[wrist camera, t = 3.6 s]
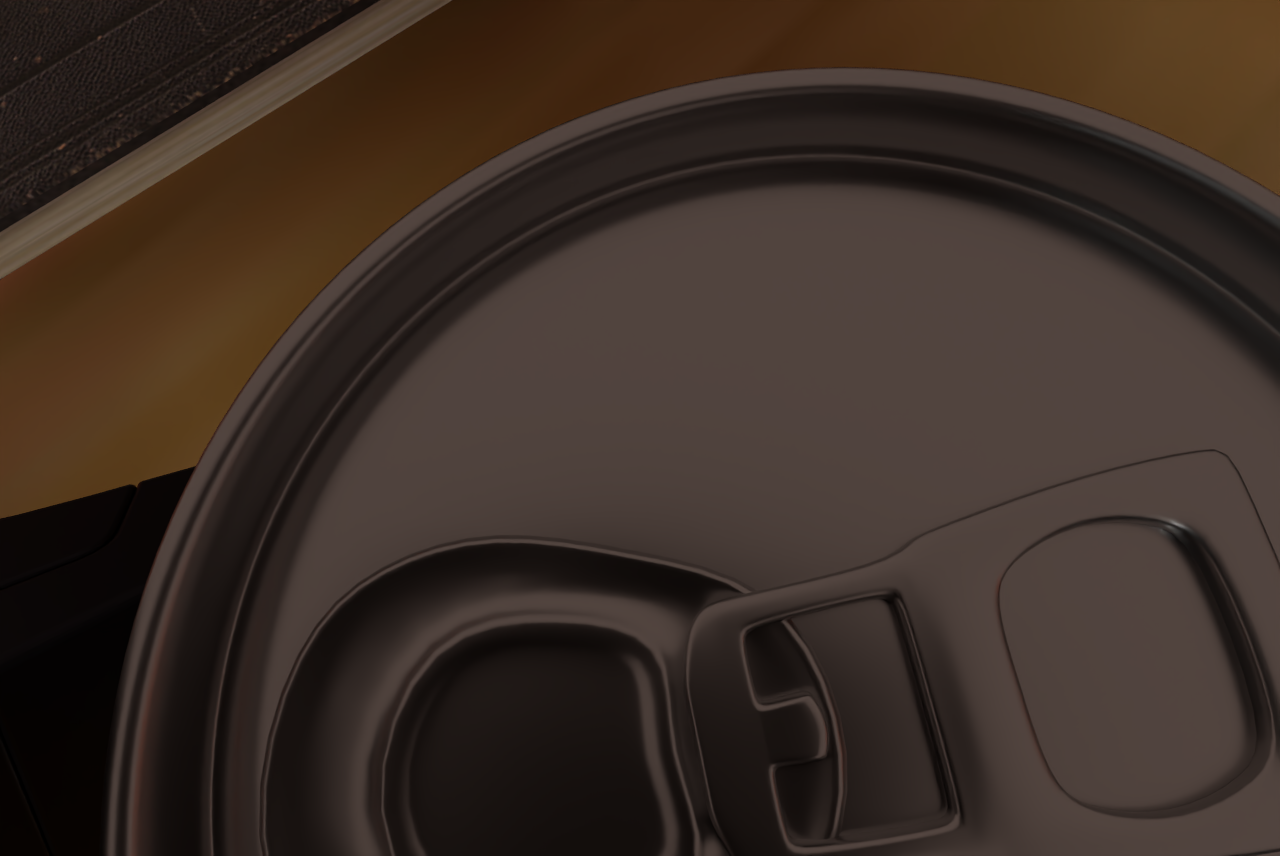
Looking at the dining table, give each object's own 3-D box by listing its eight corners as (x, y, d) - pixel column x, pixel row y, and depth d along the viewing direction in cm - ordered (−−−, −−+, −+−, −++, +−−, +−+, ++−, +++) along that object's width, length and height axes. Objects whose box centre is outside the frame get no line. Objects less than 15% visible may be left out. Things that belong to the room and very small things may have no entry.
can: (520, 510, 15) (-14, 144, 4) (846, 442, 15) (1365, -152, 4) (579, 872, 14) (-51, 2323, 2) (944, 797, 14) (2483, 1836, 2)
